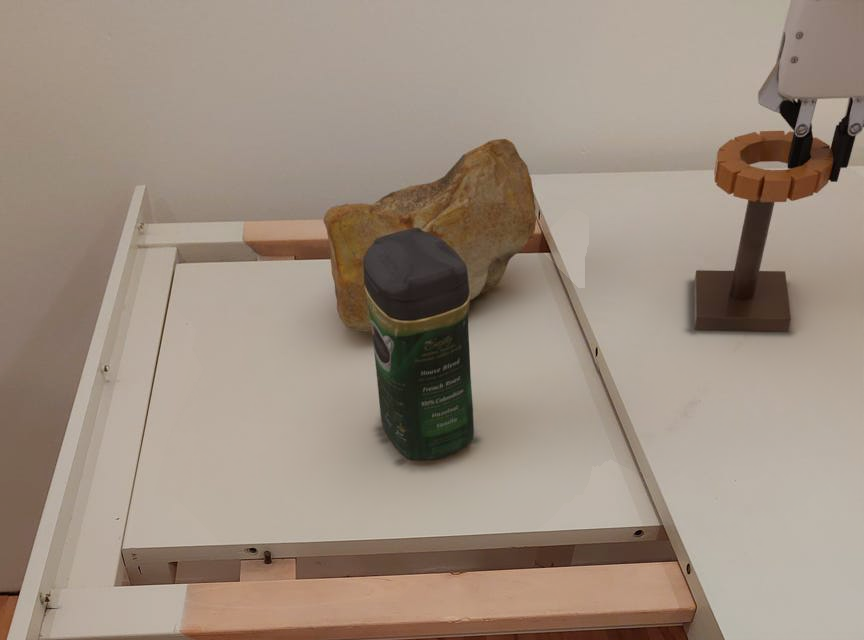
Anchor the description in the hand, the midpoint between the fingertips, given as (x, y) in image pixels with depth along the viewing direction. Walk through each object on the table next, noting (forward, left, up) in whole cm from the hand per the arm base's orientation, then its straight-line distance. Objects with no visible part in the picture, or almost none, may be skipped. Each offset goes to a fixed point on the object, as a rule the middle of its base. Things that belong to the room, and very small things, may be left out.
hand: (814, 173), depth 86 cm
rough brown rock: (+38, -2, -14) cm, 41 cm away
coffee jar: (+33, +23, -14) cm, 43 cm away
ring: (+4, 0, 0) cm, 4 cm away
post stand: (+4, 0, -14) cm, 14 cm away
